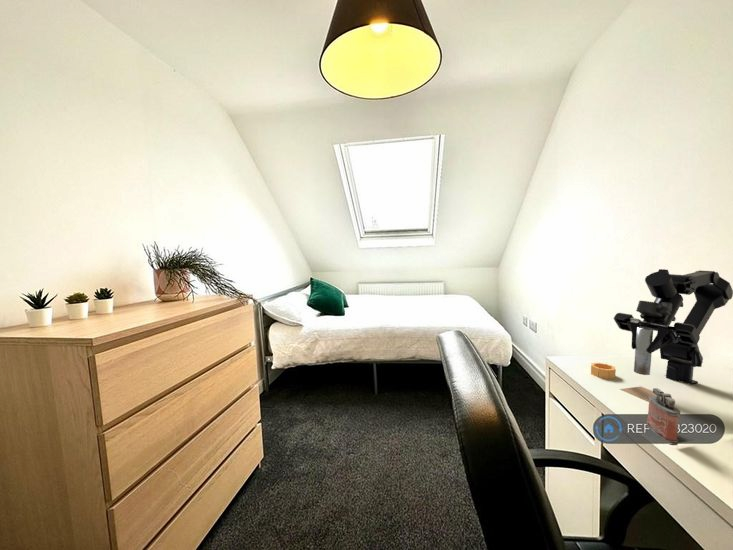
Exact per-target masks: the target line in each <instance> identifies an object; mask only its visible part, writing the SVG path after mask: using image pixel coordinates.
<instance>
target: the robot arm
mask: <svg viewBox="0 0 733 550" xmlns="http://www.w3.org/2000/svg"><path fill="white" fill-rule="evenodd" d="M644 282H645V284H646V286H647V288H648V290H649V292H650V294H651V295H652V297H654V298H655V299H654V301H648V300H639V301H638V305H637V308H636V310H635V311H636V312H638V313H640V315H639V316H640V318H641V319H643V320H641V319H639V318H635V317H634V316H633V314H629V313H624V312H617V313H616V314H615V315H614V317H613V321H614V322H615V323H616V326H617V328H618V329H620V330H622V331H626V332H630V333H631V349H632V350H635V346H636V331H637V327H648V328H652V329H653V332H654V331H655V332H657V333H656V336H655V337H654V339H653V340H652V343H651V345H650V347H649V349H648V352H649V353H654V352H656V351H658V350H659V351H660V352H659V353H660V359H661V360H667V365H666V373H665V375H664V376H665V378H666V379H668V380H671V381H673V382H681V383H685V384H688V385H695V384H698V383H699V381H697V380H695V379H693V378H694V377H693V376H694V368H696V367H698V368H701V367H703V362H704V361H703V360H704V358H703V355H702V353H701V351H700V347H699V344H698V343H699V341H700V338H701V337H700V335H701V334H702V331H703V330H704V328H705V327H706V324H707V323H708V321H709V320H710V318H711V316H712V315H713V314H714V311H715V310H717V309H719V308H722V307H725V306H726V305H727V303H728V302H729V301H730V300H731V299H732V298H733V287H732V285H731V283H730V282H729V281H727V280H726V279H724V278H723V277H721V276H720V275H719V272H717V271H714V270H696V271H694V272H691V273H686V274H672V273H670V272H669V269H665V268H663V269H662V268H661V269H658V271H656V272H651V273H650V274H648V275H647V276H646V277H645V279H644ZM692 294H693V295H694V297H695V300H696V301H695V303H694V305H693V306H692V308H691V309H690V311H689V312H688V314H687V316H686V317H685V319H684V321H683V322H679V321H677V322H676V320H677V318H676V315H677V312H678V310H680V308H683V307H684V302H683V301H684V298H683V296H682V295H686V296H690V295H692ZM672 322H674V324H673V326H671V323H672Z"/></svg>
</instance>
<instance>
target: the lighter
mask: <svg viewBox="0 0 733 550" xmlns="http://www.w3.org/2000/svg"><path fill="white" fill-rule="evenodd" d="M652 391H653V394H655V395H656V396H648V400H649V402H648V411H647V422H646V425H647V427H648V428H649V429H650V430H651V431H652V432H653V433H655V434H656V435H657V436H659V437H660V438H662V439H663V440H665V441H668V442H671V443H668V445H670V446H678V443H679V439H678V431H679V430H678V429H679V421H680V420H679V418H680V416H681V414H682V413H681V410H680V409H679V408H678V407H677V406H675V404H676V400H675V398H673V397H672V395H671V394H670V393H666V392H664V391H663V390H661V389H660V388H658V387H654V388H652Z"/></svg>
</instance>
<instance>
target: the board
mask: <svg viewBox="0 0 733 550" xmlns="http://www.w3.org/2000/svg"><path fill="white" fill-rule="evenodd" d="M619 390H620V391H623V392H625V393H627V394H628V395H631V396H634V397H637V398H638V399H640V400H643V401H645V402H647V403H649V400H648V396H656V395H655V394H653V390H652V389H649V388H646V387H644V386H634V387H626V388H620V389H619Z"/></svg>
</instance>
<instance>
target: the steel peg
mask: <svg viewBox="0 0 733 550" xmlns="http://www.w3.org/2000/svg"><path fill="white" fill-rule="evenodd" d="M653 338H654V330H653V329H652V328H648V327H637V331H636V346H635V349H634V362H633V363H634V364H633V365H634V366H633V372H634V373H636V374H639V375H642V376H650V375H651V366H652V353H653V352H652V353H649V352H648V349H649V347H650V345H651V343H652V342H653V340H654V339H653Z"/></svg>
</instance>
